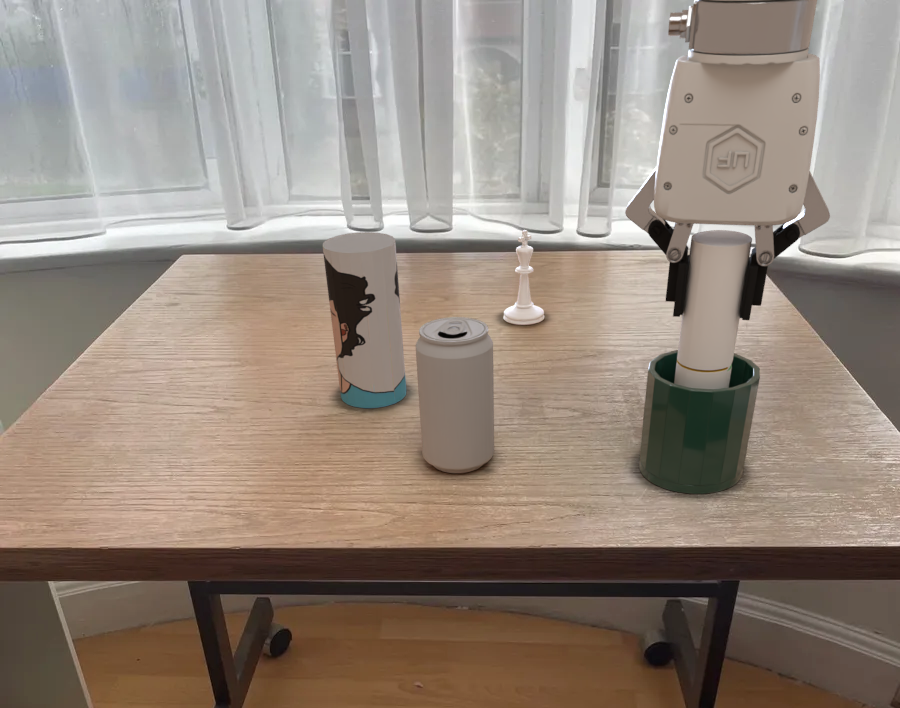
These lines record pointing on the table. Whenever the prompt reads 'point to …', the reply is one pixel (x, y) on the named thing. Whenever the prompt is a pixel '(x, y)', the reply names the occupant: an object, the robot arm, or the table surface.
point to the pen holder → (696, 428)
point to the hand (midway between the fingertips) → (711, 309)
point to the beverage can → (456, 393)
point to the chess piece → (524, 289)
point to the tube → (712, 308)
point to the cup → (366, 318)
